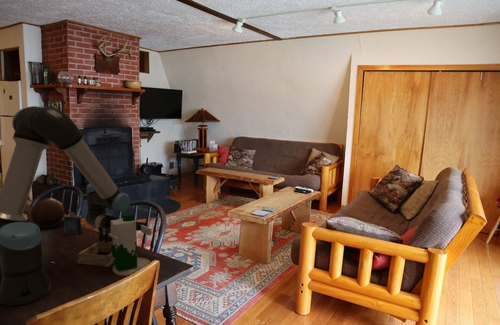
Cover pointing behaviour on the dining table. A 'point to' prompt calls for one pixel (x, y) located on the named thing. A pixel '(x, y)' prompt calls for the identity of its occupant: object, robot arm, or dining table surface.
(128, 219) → the soya milk
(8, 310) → the dining table surface
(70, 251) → the dining table surface
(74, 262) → the dining table surface
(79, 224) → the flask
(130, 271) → the pad
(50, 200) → the wooden sphere
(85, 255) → the shallow beige tray
